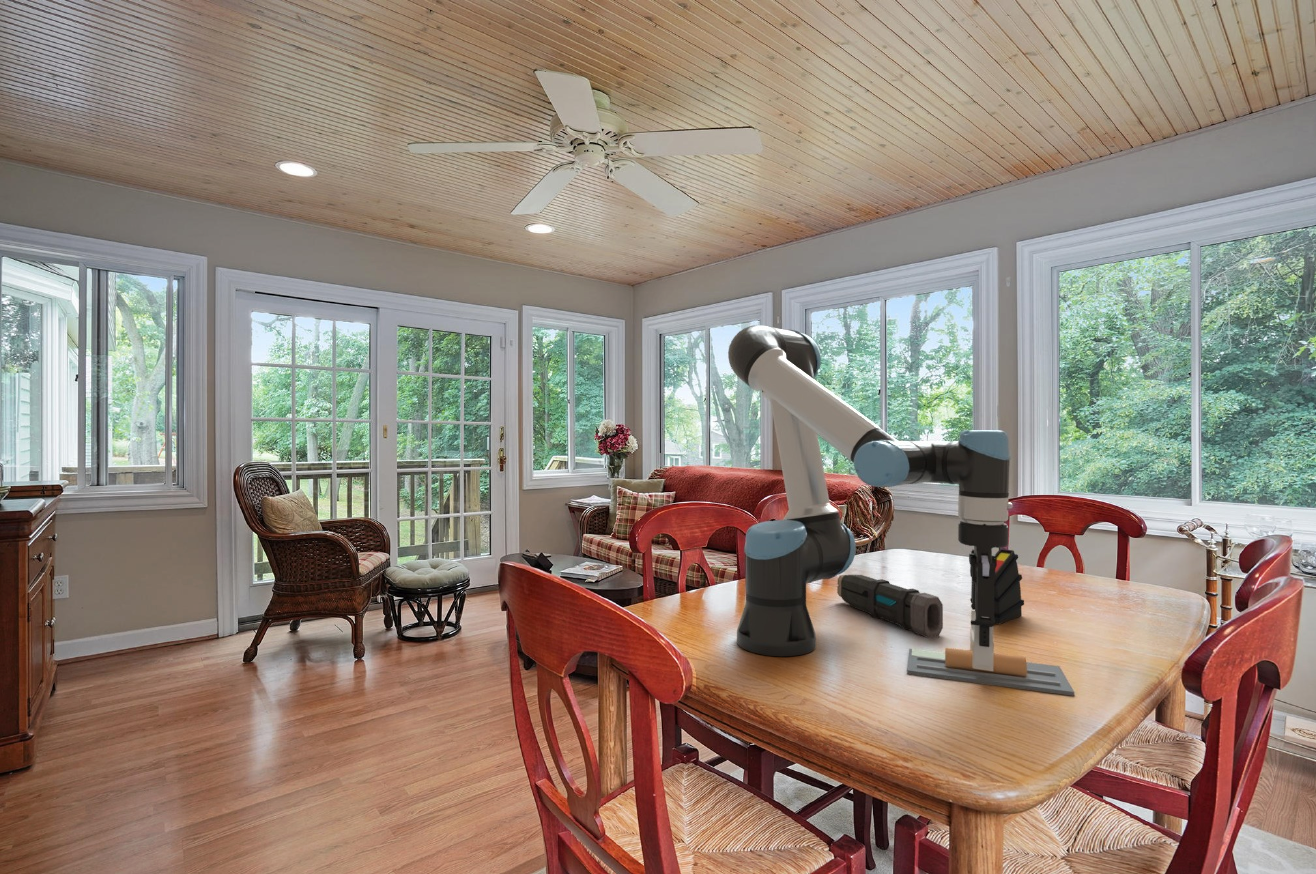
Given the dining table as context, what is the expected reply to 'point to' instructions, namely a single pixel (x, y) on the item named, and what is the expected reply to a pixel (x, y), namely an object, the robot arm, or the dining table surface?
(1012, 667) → the tan cylindrical rod
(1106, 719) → the dining table surface
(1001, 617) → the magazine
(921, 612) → the tube
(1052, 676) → the guide mat
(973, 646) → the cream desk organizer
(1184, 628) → the dining table surface
